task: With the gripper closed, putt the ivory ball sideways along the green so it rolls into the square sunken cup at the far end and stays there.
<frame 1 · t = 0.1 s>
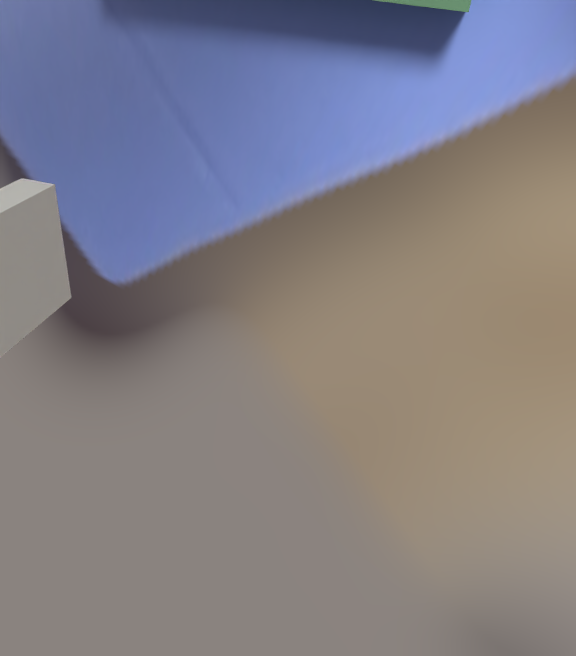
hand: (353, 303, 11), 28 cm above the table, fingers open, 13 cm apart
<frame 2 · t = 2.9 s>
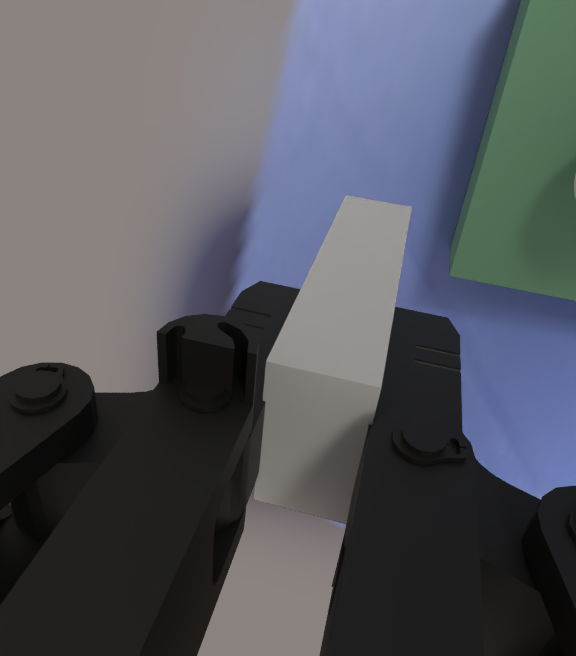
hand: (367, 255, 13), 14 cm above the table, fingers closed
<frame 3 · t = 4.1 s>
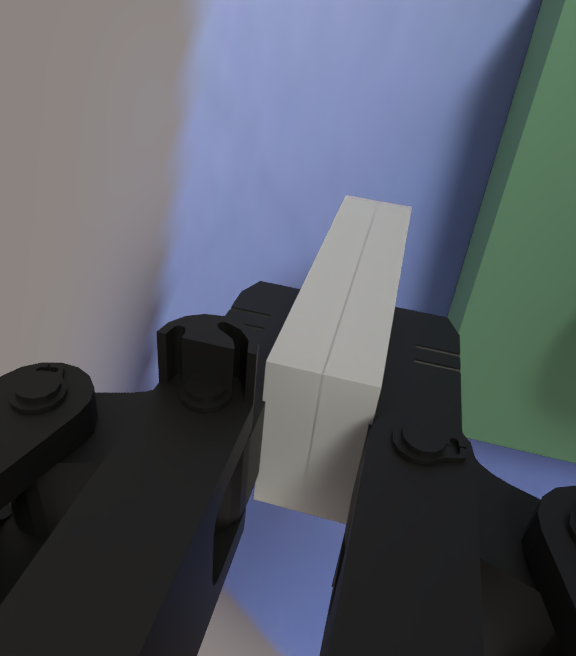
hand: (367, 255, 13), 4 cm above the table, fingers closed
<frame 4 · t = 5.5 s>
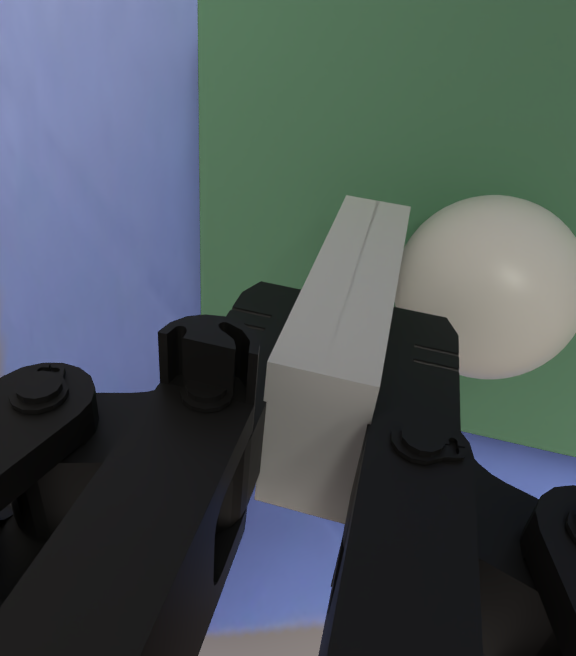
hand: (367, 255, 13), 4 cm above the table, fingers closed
ball: (486, 288, 12), point 5 cm above the table, tilted 66°, touching gripper
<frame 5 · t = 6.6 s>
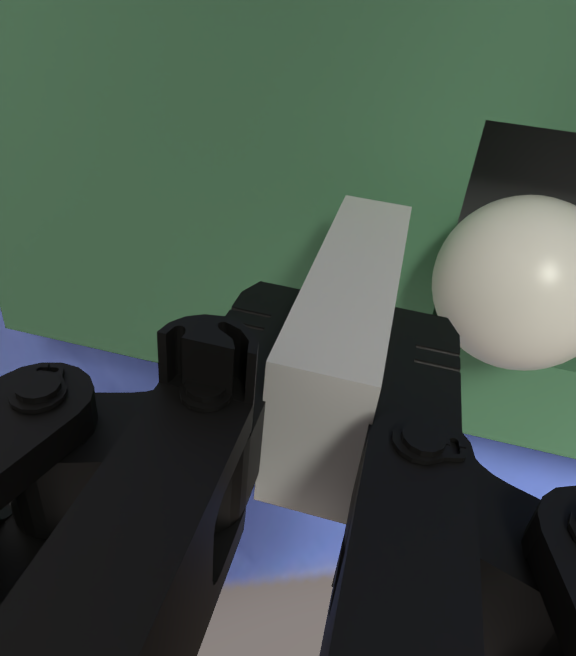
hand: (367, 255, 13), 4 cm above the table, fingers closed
green: (351, 186, 17), on the table
ball: (521, 283, 13), point 4 cm above the table, tilted 85°
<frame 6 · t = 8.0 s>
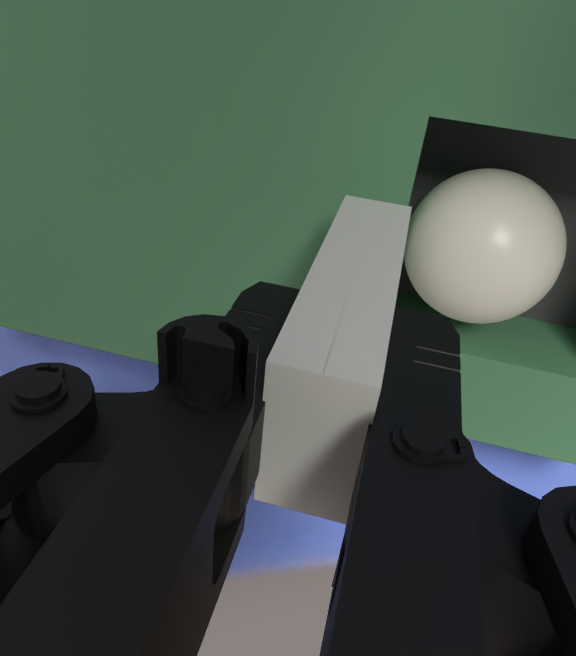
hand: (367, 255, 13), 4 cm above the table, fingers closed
green: (310, 182, 17), on the table
ball: (481, 247, 14), point 2 cm above the table, tilted 52°, touching green
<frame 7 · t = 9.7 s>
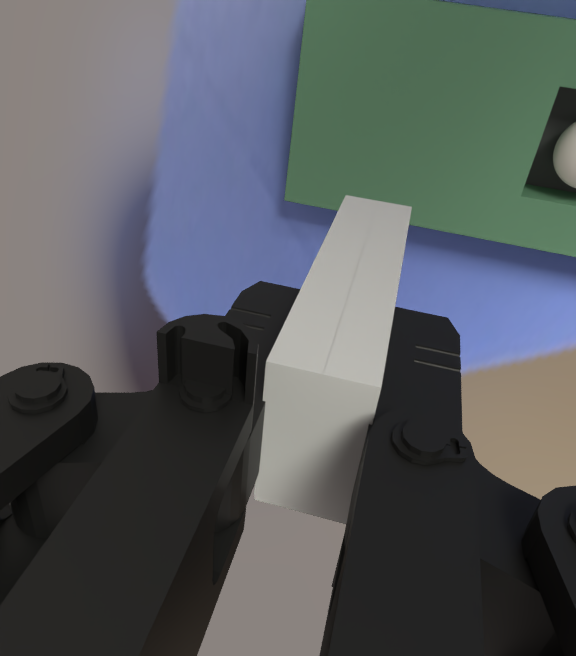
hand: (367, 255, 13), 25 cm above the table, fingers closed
green: (481, 123, 33), on the table
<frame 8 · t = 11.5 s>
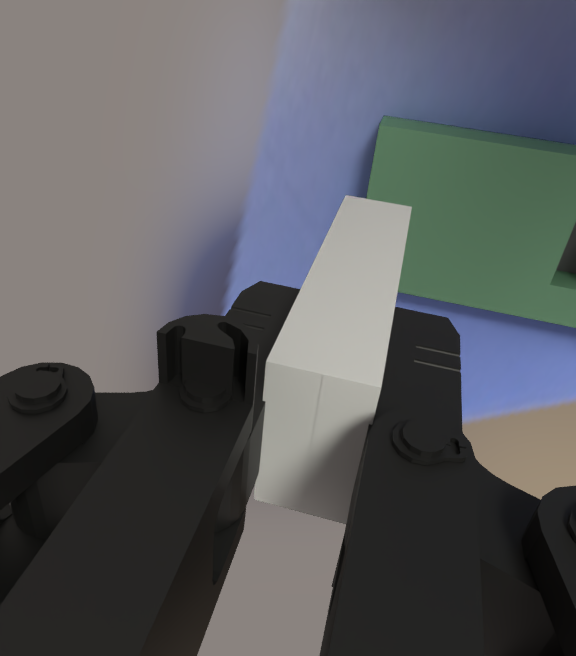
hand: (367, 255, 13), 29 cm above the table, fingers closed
green: (516, 222, 41), on the table
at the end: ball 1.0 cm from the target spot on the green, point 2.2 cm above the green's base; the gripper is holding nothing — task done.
